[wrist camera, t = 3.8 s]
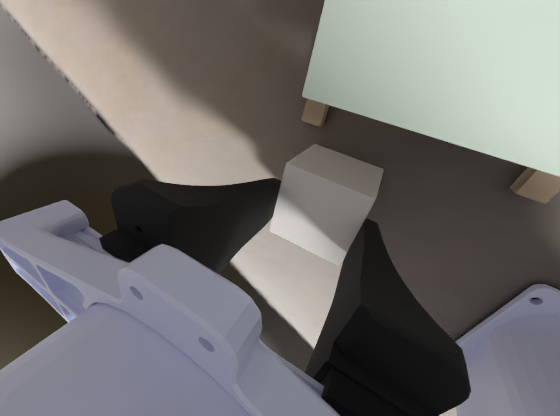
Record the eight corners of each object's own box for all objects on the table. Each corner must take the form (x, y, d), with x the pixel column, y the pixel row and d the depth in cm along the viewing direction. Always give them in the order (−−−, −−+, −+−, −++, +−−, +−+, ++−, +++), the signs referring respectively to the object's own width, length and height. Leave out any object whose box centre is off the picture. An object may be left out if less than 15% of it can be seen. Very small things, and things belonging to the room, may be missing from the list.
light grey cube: (354, 226, 16) (339, 266, 12) (297, 200, 17) (269, 231, 14) (384, 169, 13) (375, 199, 10) (315, 143, 15) (285, 162, 11)
